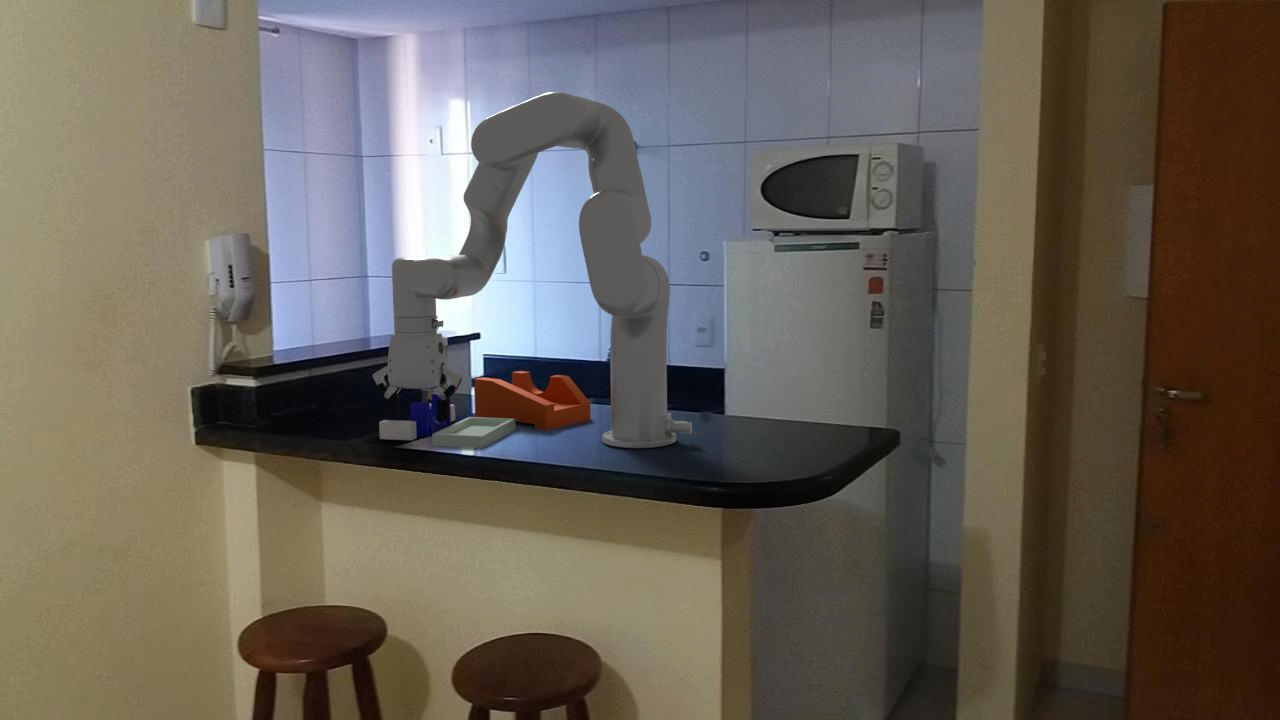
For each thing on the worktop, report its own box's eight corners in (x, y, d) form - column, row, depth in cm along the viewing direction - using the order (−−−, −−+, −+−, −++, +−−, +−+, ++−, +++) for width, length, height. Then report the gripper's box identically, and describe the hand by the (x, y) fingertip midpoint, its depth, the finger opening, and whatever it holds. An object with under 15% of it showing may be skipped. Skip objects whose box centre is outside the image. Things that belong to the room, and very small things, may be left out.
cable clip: (428, 423, 200) (427, 392, 199) (450, 424, 200) (449, 392, 199) (403, 436, 189) (402, 403, 188) (427, 437, 188) (426, 404, 187)
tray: (515, 429, 193) (515, 418, 193) (482, 447, 178) (482, 436, 177) (469, 427, 195) (468, 416, 195) (432, 445, 180) (432, 434, 179)
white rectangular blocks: (455, 420, 203) (454, 404, 202) (411, 440, 184) (410, 423, 184) (426, 418, 204) (425, 403, 204) (379, 438, 186) (379, 422, 185)
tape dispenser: (475, 422, 203) (474, 378, 202) (521, 412, 213) (520, 370, 212) (546, 432, 192) (545, 387, 191) (590, 421, 202) (589, 378, 201)
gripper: (468, 324, 193) (471, 417, 195) (381, 323, 197) (384, 414, 199) (451, 328, 186) (455, 425, 188) (361, 327, 190) (365, 422, 192)
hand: (418, 419), depth 194 cm, fingers open, 9 cm apart
